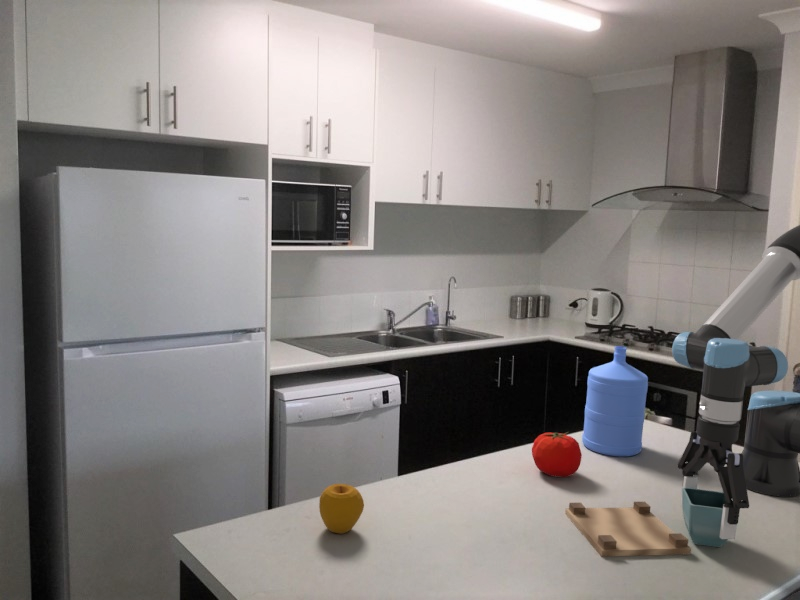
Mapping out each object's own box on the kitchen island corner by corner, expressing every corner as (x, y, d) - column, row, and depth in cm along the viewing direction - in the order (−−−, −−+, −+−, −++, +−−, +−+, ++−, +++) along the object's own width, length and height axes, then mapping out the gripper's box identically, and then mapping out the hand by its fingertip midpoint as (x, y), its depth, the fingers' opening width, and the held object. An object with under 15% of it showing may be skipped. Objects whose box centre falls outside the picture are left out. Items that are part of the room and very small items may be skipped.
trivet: (644, 512, 151) (645, 500, 150) (690, 554, 133) (692, 540, 133) (565, 513, 148) (566, 501, 148) (601, 556, 131) (602, 542, 130)
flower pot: (734, 554, 134) (739, 510, 133) (685, 548, 136) (690, 504, 134) (722, 534, 142) (727, 492, 141) (677, 528, 144) (681, 486, 143)
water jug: (632, 462, 181) (643, 356, 177) (573, 448, 189) (582, 347, 185) (647, 446, 194) (657, 347, 190) (592, 434, 202) (600, 339, 198)
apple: (368, 524, 139) (370, 482, 137) (351, 543, 131) (353, 498, 130) (329, 516, 141) (331, 474, 140) (310, 534, 133) (312, 490, 132)
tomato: (586, 472, 172) (589, 432, 171) (570, 487, 163) (574, 444, 161) (540, 461, 179) (543, 422, 177) (522, 474, 169) (526, 433, 168)
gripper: (667, 399, 147) (657, 495, 150) (741, 440, 123) (727, 553, 126) (700, 400, 148) (689, 495, 151) (779, 440, 124) (764, 552, 127)
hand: (706, 522), depth 138 cm, fingers open, 13 cm apart
